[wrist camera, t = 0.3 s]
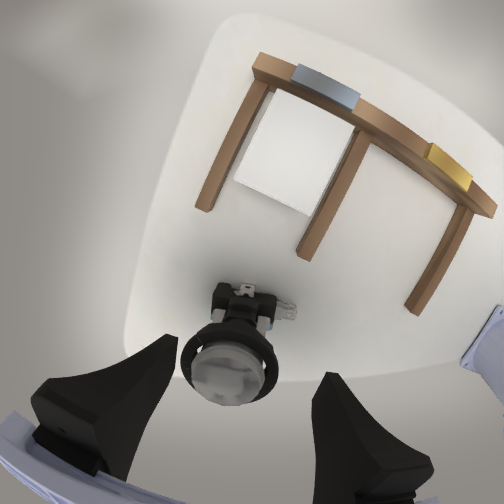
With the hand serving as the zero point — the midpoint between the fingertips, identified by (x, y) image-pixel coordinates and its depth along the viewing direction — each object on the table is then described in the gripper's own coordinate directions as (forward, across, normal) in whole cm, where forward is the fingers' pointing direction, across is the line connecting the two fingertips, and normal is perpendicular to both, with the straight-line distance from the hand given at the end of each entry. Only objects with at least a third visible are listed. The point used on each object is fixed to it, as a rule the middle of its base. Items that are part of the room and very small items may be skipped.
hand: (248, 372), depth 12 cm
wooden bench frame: (+10, -5, -8) cm, 14 cm away
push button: (+11, 0, +1) cm, 11 cm away
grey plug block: (+10, 0, -10) cm, 15 cm away
